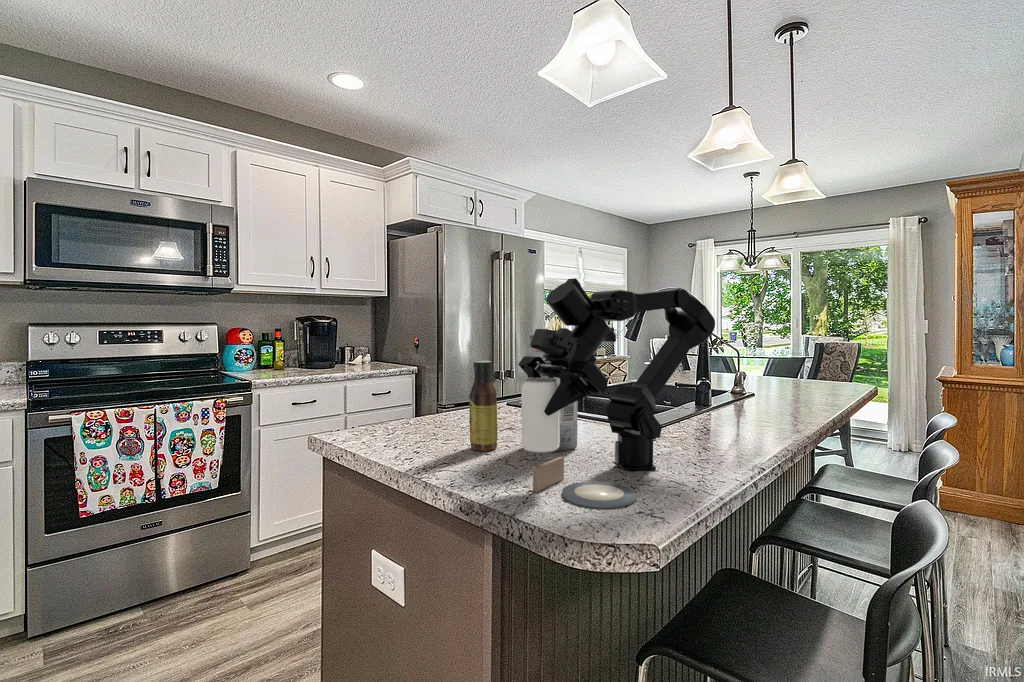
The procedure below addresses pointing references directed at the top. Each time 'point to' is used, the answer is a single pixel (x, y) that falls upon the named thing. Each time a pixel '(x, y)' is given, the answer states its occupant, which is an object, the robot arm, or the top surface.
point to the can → (539, 416)
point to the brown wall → (548, 474)
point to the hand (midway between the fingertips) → (534, 411)
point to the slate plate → (599, 494)
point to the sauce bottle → (483, 409)
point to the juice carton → (562, 413)
